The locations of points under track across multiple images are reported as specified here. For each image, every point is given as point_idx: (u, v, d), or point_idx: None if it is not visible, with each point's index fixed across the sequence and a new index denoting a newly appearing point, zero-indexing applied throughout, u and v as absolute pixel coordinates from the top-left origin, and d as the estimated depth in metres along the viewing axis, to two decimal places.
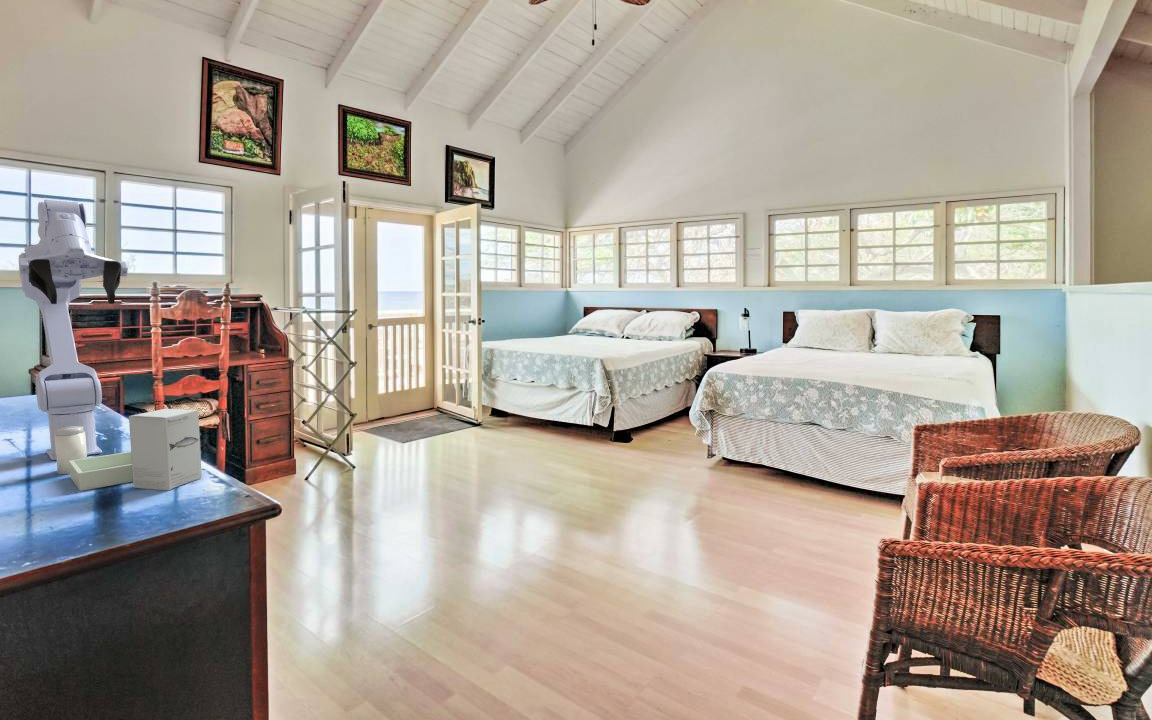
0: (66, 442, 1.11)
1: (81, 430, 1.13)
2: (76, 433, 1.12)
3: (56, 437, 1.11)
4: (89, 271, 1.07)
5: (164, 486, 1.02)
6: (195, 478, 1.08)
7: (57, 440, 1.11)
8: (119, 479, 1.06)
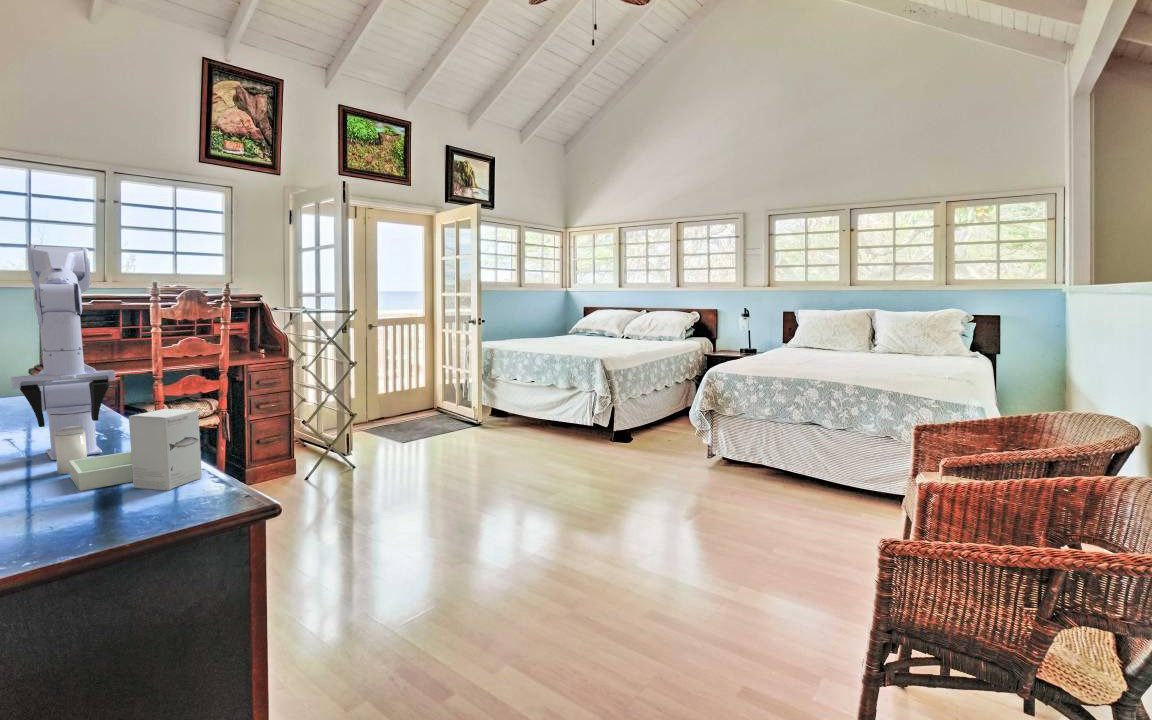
0: (66, 442, 1.11)
1: (81, 430, 1.13)
2: (76, 433, 1.12)
3: (56, 437, 1.11)
4: (78, 382, 1.13)
5: (164, 486, 1.02)
6: (195, 478, 1.08)
7: (57, 440, 1.11)
8: (119, 479, 1.06)
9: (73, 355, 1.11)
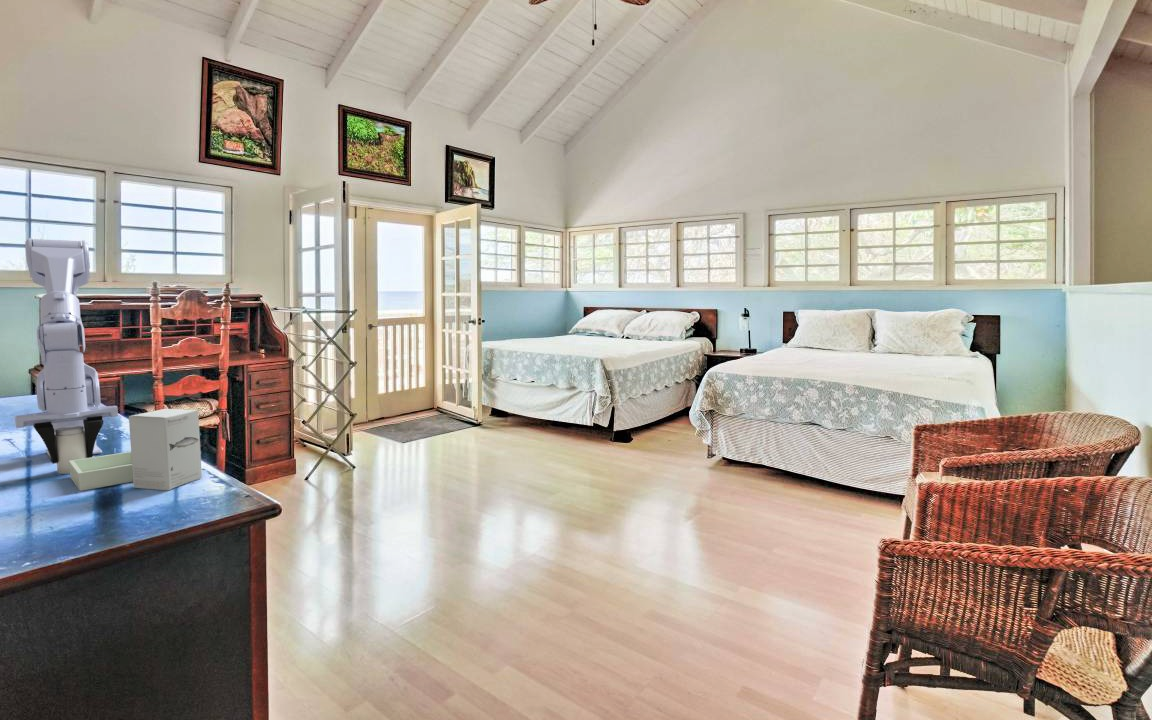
0: (66, 442, 1.11)
1: (81, 430, 1.13)
2: (76, 433, 1.12)
3: (56, 437, 1.11)
4: (81, 419, 1.14)
5: (164, 486, 1.02)
6: (195, 478, 1.08)
7: (57, 440, 1.11)
8: (119, 479, 1.06)
9: (76, 393, 1.11)
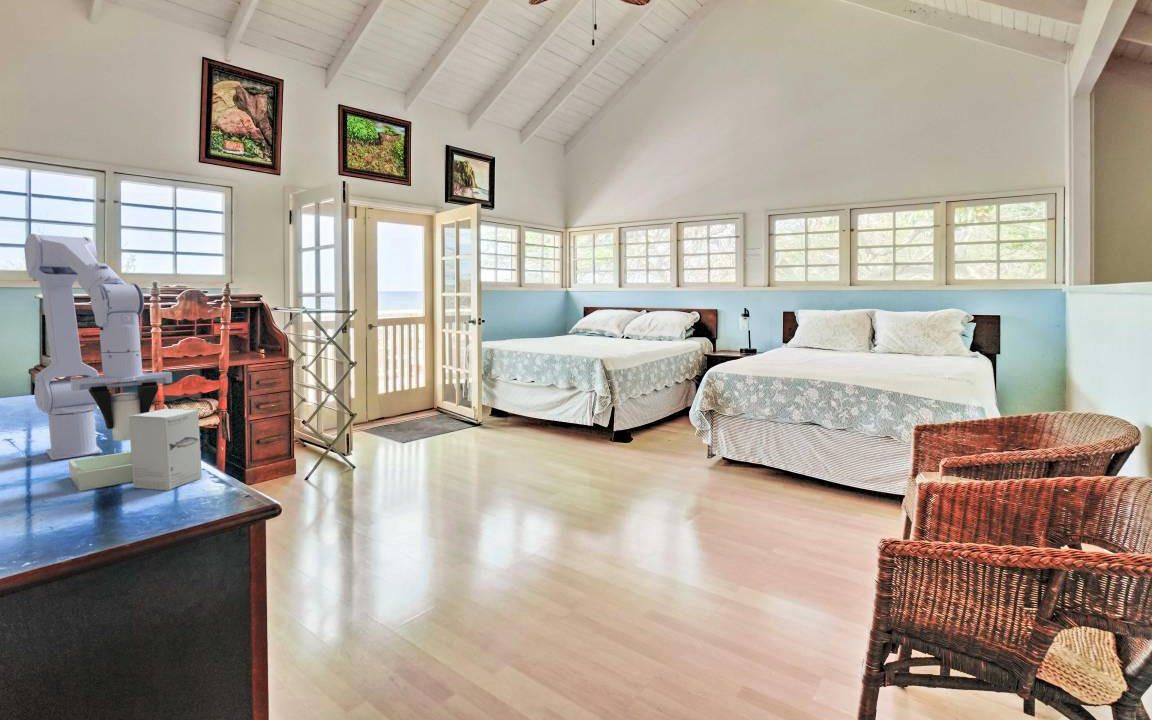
0: (123, 408, 1.08)
1: (136, 396, 1.11)
2: (132, 399, 1.10)
3: (112, 403, 1.08)
4: None
5: (164, 486, 1.02)
6: (195, 478, 1.08)
7: (113, 406, 1.08)
8: (119, 479, 1.06)
9: (132, 357, 1.08)
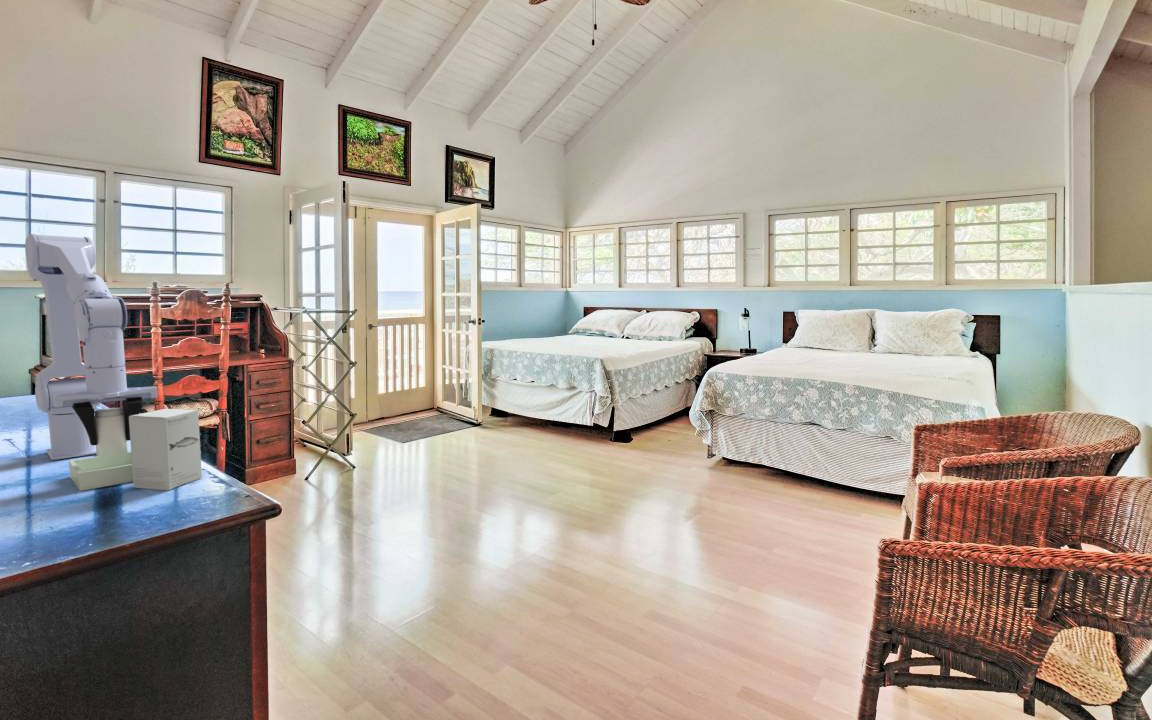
0: (107, 424, 1.07)
1: (121, 412, 1.09)
2: (116, 414, 1.08)
3: (96, 419, 1.07)
4: None
5: (164, 486, 1.02)
6: (195, 478, 1.08)
7: (97, 422, 1.07)
8: (119, 479, 1.06)
9: (116, 372, 1.07)
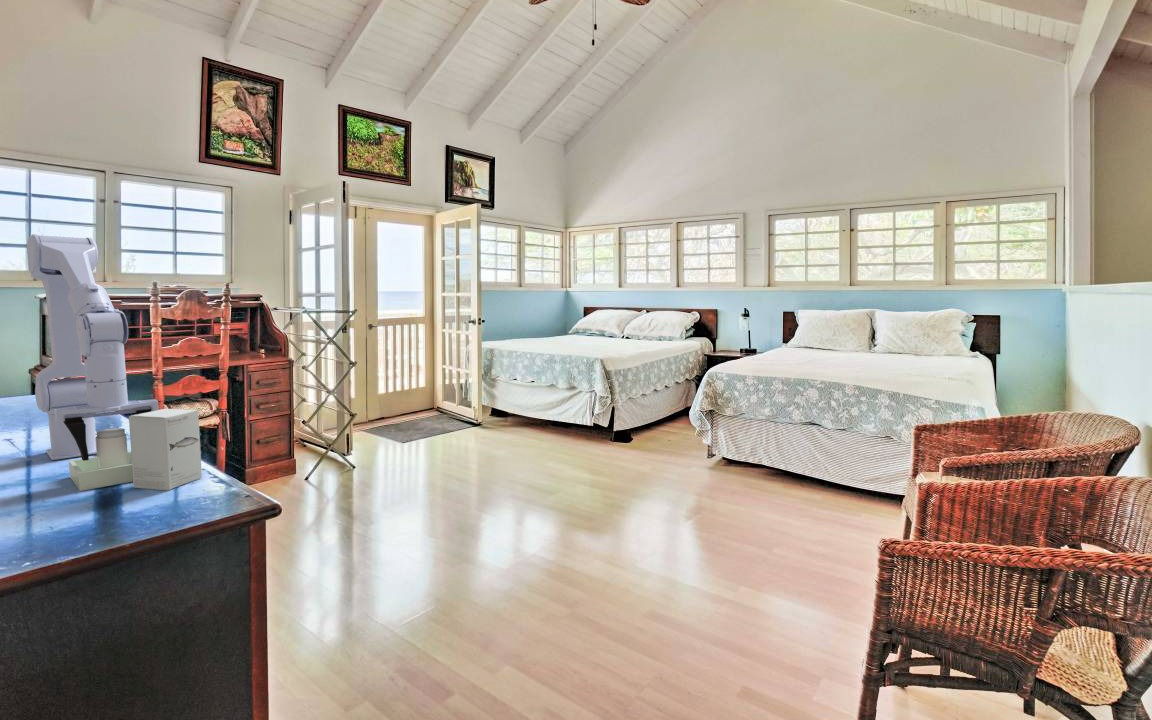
0: (108, 445, 1.07)
1: (123, 432, 1.09)
2: (118, 435, 1.08)
3: (98, 440, 1.07)
4: (121, 413, 1.10)
5: (164, 486, 1.02)
6: (195, 478, 1.08)
7: (99, 443, 1.07)
8: (119, 479, 1.06)
9: (117, 386, 1.07)
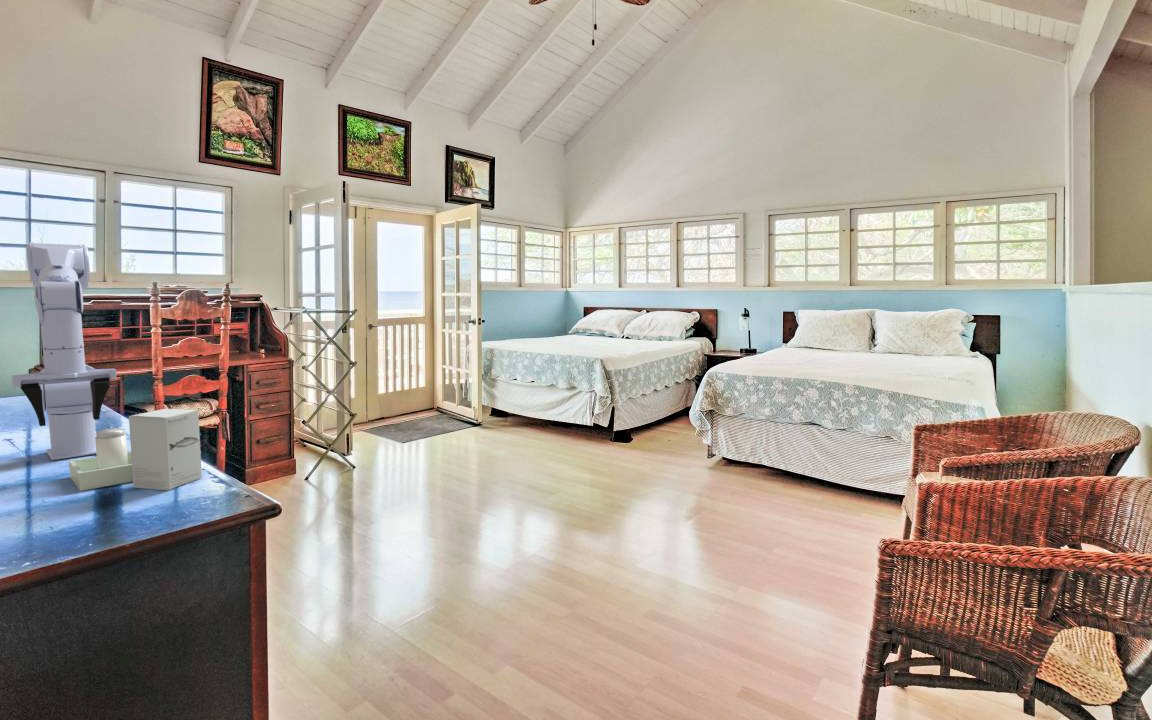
0: (108, 445, 1.07)
1: (123, 432, 1.09)
2: (118, 435, 1.08)
3: (98, 440, 1.07)
4: (79, 381, 1.12)
5: (164, 486, 1.02)
6: (195, 478, 1.08)
7: (99, 443, 1.07)
8: (119, 479, 1.06)
9: (74, 353, 1.09)
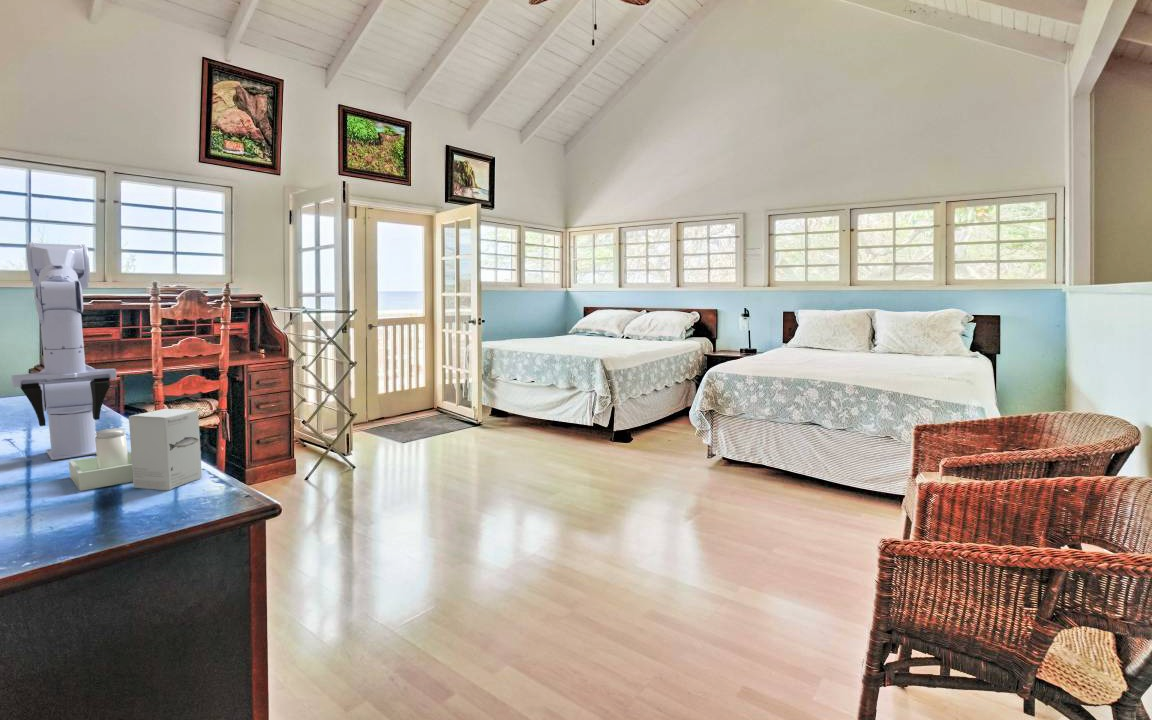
0: (108, 445, 1.07)
1: (123, 432, 1.09)
2: (118, 435, 1.08)
3: (98, 440, 1.07)
4: (79, 381, 1.12)
5: (164, 486, 1.02)
6: (195, 478, 1.08)
7: (99, 443, 1.07)
8: (119, 479, 1.06)
9: (74, 353, 1.09)
